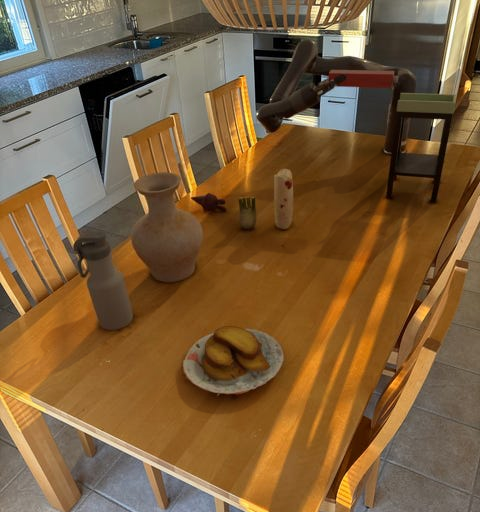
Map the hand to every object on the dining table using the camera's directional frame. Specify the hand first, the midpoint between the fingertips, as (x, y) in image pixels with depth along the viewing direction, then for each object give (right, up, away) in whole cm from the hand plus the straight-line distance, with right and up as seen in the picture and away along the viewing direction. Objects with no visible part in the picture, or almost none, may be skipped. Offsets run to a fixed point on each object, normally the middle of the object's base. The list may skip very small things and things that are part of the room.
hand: (346, 74), depth 180 cm
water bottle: (-73, -87, -34) cm, 119 cm away
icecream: (-49, -45, +15) cm, 68 cm away
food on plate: (-39, -98, -51) cm, 118 cm away
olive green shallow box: (+25, -15, -7) cm, 30 cm away
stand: (+29, -36, +17) cm, 50 cm away
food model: (-22, -53, +3) cm, 57 cm away
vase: (-59, -71, -15) cm, 93 cm away
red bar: (+5, -4, +1) cm, 6 cm away
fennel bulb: (-35, -54, +2) cm, 64 cm away
